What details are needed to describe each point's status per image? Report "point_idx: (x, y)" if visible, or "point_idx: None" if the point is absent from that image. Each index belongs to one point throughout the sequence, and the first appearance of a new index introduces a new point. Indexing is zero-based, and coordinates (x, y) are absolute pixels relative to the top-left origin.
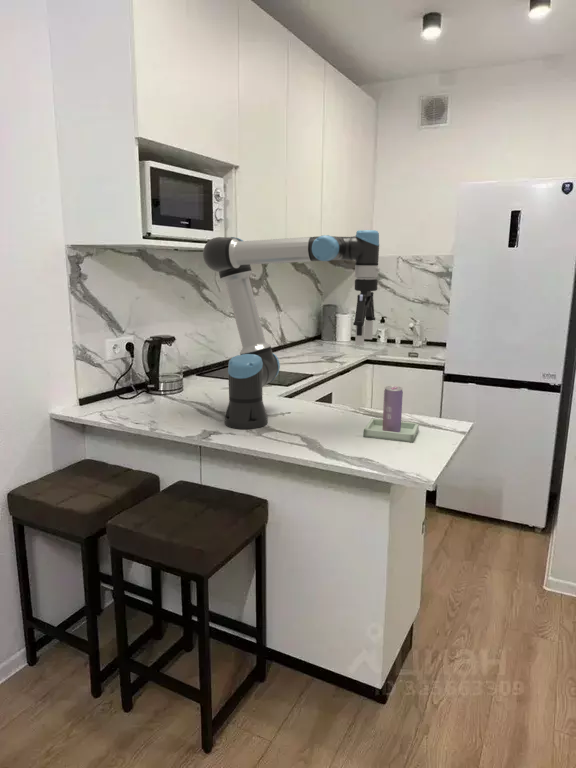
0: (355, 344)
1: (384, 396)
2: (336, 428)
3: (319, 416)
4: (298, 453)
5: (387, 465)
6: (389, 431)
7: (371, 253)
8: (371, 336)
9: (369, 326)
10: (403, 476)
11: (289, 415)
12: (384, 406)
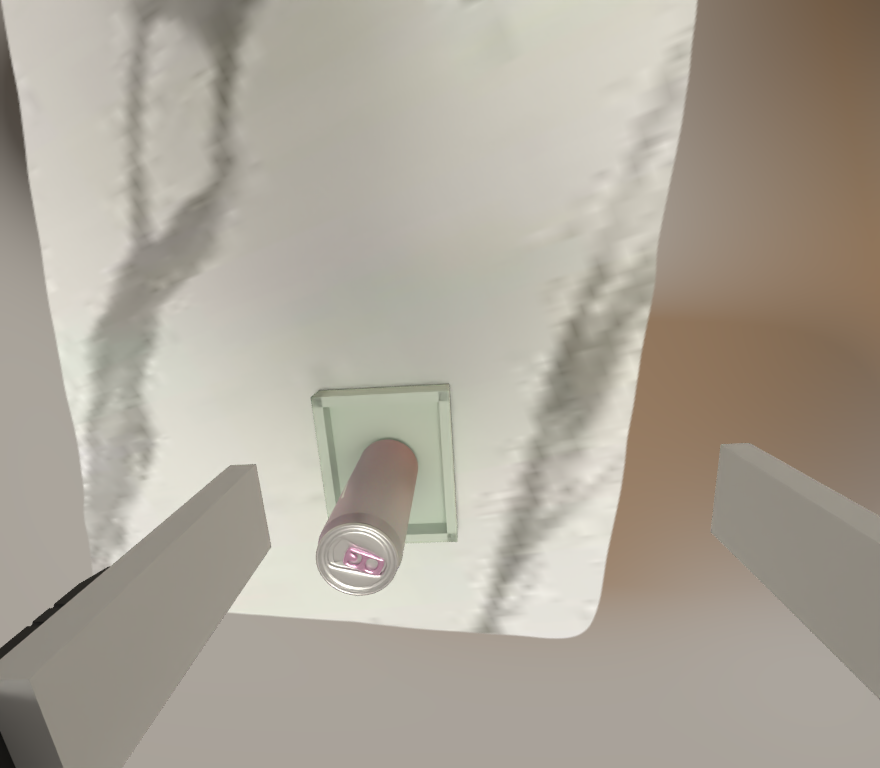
0: (225, 471)
1: (341, 506)
2: (361, 278)
3: (479, 157)
4: (70, 247)
5: (138, 503)
6: (331, 476)
7: None
8: (733, 550)
9: (871, 635)
10: (96, 548)
11: (441, 11)
12: (347, 486)
